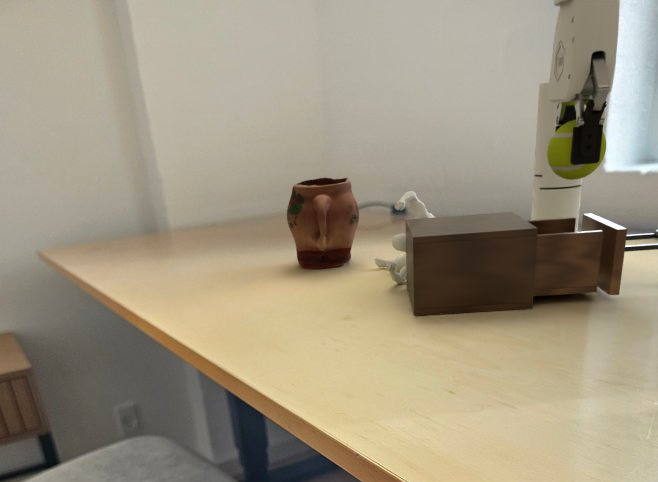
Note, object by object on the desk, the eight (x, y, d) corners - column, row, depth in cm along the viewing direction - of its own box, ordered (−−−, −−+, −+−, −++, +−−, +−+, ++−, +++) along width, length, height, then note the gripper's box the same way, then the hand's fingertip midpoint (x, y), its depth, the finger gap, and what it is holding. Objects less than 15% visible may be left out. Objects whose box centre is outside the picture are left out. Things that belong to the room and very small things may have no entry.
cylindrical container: (556, 251, 110) (570, 81, 99) (584, 257, 104) (602, 77, 93) (519, 256, 109) (529, 84, 97) (546, 263, 102) (559, 81, 91)
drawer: (649, 267, 92) (658, 208, 88) (693, 290, 80) (705, 223, 76) (488, 278, 93) (490, 220, 90) (507, 301, 82) (510, 237, 78)
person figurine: (380, 196, 107) (398, 185, 90) (456, 207, 108) (488, 198, 91) (368, 278, 111) (383, 282, 94) (441, 288, 112) (469, 294, 95)
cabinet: (508, 281, 94) (512, 211, 90) (532, 308, 81) (538, 228, 77) (406, 288, 95) (405, 219, 91) (413, 316, 82) (412, 237, 78)
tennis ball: (540, 183, 80) (545, 122, 77) (549, 177, 85) (553, 120, 82) (600, 181, 77) (607, 117, 74) (605, 175, 82) (611, 115, 79)
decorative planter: (369, 273, 106) (365, 181, 100) (295, 281, 106) (286, 188, 99) (353, 252, 124) (348, 172, 118) (289, 258, 123) (281, 178, 117)
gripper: (537, 0, 80) (527, 159, 88) (579, -27, 64) (563, 169, 73) (600, -6, 79) (585, 155, 87) (658, -35, 64) (633, 164, 72)
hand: (575, 160), depth 80 cm, fingers closed on tennis ball, 6 cm apart
